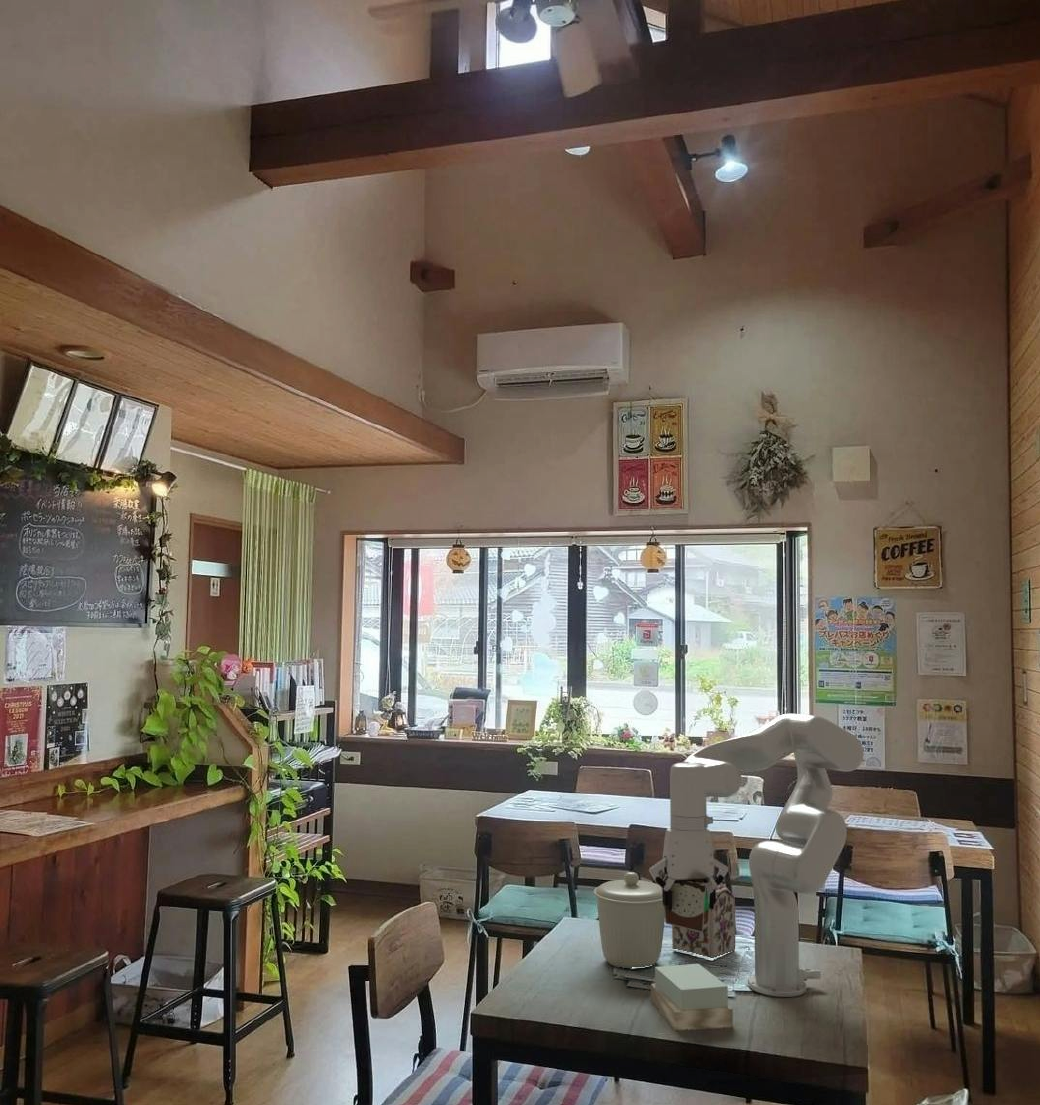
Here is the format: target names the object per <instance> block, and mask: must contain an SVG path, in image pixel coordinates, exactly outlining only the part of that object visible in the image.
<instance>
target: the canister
mask: <svg viewBox="0 0 1040 1105" xmlns="http://www.w3.org/2000/svg"><path fill="white" fill-rule="evenodd" d="M593 895H594V896H595V898H596V904H597V906H596V907H597V914H598V916H597V918H598V928H599V936H600V942H601V951H602V955H603V957H604V959H605V961H606V962H607V963H608V964H610V965H612V966H613V967H616V968H620V967H622V968H621V969H624V968H632V967H645V966H650V965H653V964H655V963H656V964H657V963H658V961H659V960H660V957H661V954H662V948H663V947H662V945H663V941H664V940H663V939H664V933H665V932H664V930H665V913H664V905H663V902H662V887H661V886H660V885H659V884H658V883H656V882H655V883H654V882H651V881H647V880H640V878H639V875H638V874H637V873H636V872H634V871H627V872H625V874H624V875H623V879H614V880H609V881H605V882H604V883H603V882H602V884H600V885H599V886H597V887H595V888H594V890H593ZM656 964H655V965H656Z"/></svg>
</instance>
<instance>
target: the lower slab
mask: <svg viewBox="0 0 1040 1105" xmlns="http://www.w3.org/2000/svg"><path fill="white" fill-rule="evenodd" d="M650 1001H651V1003H652V1002H653V1003H654V1004H655V1005H654V1004H653V1003H652V1004H653V1005H654V1007H655V1008H656V1007H657V1008H658V1009H659V1010H658V1009H657V1008H656V1009H657V1010H658V1012H659V1013H660V1014H661V1013H662V1014H663V1015H662V1014H661V1015H662V1017H663V1018H664V1019H665V1018H666V1019H667V1020H668V1021H669V1022H670V1024H671V1025H672V1026H671V1025H670V1024H669V1025H670V1026H671V1027H672V1029H673V1028H674V1029H673V1030H674V1031H675V1030H678V1031H688V1030H689V1031H690V1029H691V1031H692V1029H693V1030H707V1028H709V1029H721V1028H723V1027H725V1028H733V1027H734V1021H733V1020H734V1019H733V1018H734V1017H733V1016H734V1015H733V1014H734V1012H733V1011H734V1010H733V1007H731V1006H730V1005H729V1004H728V1007H720V1008H709V1009H698V1010H687V1011H681V1010H680V1009H679V1008H678V1007H677V1006H676V1005H675V1004H674V1003H672V1002H671V1001H670V1000H669V999H668V998H667V997H666V996H665V995H664V994H663V993H662V992H661V991H659V990H658V989H657V988H656V987H655V983H651V984H650ZM666 1019H665V1020H666ZM667 1020H666V1021H667ZM668 1021H667V1022H668ZM669 1022H668V1023H669ZM731 1026H732V1027H731ZM684 1029H685V1030H684ZM686 1029H688V1030H686Z"/></svg>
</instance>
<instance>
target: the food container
mask: <svg viewBox="0 0 1040 1105" xmlns="http://www.w3.org/2000/svg"><path fill="white" fill-rule="evenodd" d="M665 876H666V874H664V873H663V872H662V873H660V878H661V879H662V880H663V879H664V877H665ZM670 890H671V891H672V910H671V911H668V910H667V909H666V908H665V906H664V913H665V922H664V924H666V925H669V926H672V925H673V926H677V927H681V928H685V929H689V930H692V931H696V932H700V933H704V932H706V931H707V930H708V915H709V901H710V893H712V892H713V886H712V882H711V880H710V878H708V881H707V880H706V879H701V880H675V881H674V883H673V885H672V886H671V888H670Z"/></svg>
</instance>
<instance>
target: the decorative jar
mask: <svg viewBox="0 0 1040 1105" xmlns="http://www.w3.org/2000/svg"><path fill="white" fill-rule="evenodd" d="M735 902H736V900H735V895H734V894H733V893H732V892H731V890H730V889H729V888H728V887H726V885H724V884H723V883H722V882H721V883H720V884H719V885H718V888H717V889H716V903H715V904H714V909H710V908H709V915H708V930H707V931H706V932H704V933H700V932H696V931H692V930H689V929H685V928H681V927H677V926H673V925H671V929H672V930H671V934H672V935H671V936H672V937H671V940H672V943H671V944H672V949H678V950H683V951H687V952H692V953H696V954H699V955H703V956H707V957H710V958H714V957H717V956H720V955H723V954H725V953H728V952H731V951H733V952H734V951H735V950H736V903H735ZM731 953H732V952H731Z"/></svg>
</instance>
